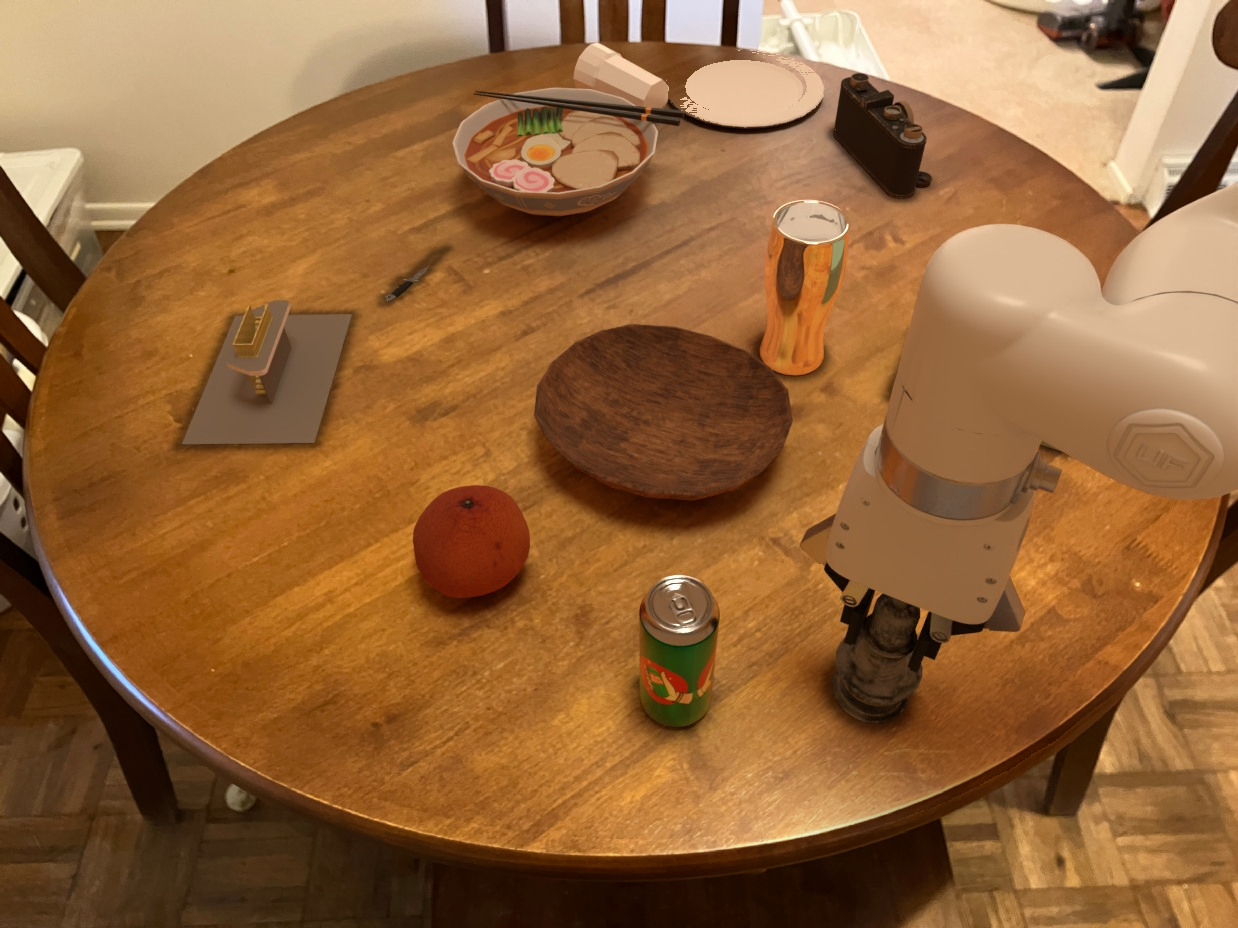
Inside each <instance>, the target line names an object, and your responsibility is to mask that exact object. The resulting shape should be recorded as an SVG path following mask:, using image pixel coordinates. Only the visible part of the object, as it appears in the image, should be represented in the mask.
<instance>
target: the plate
mask: <svg viewBox="0 0 1238 928" xmlns="http://www.w3.org/2000/svg"><path fill="white" fill-rule="evenodd" d="M737 50H738V51H740V50H741V49H737ZM749 50H750V51H757V52H762V53H770V54H776V55H781V54H780V53H775V52H770V51H766V50H754V49H753V50H752V49H749ZM752 53H756V52H752ZM757 54H759V53H757ZM763 55H765V54H763ZM768 56H775V55H768ZM763 58H764V57H763ZM778 58H779V59H776V60H778V61H781V62H780V63H782V64H789V65H788V66H791V67H792V66H793V67H792V68H796V69H795V70H797V71H799V72H800V74H802V75H801V76H803V77H804V79H805V81H806V85H807V88H806V89H807V90H806V91H807V92H805V95H803V97H802V94H803V86H802V83H801V81H800V80H799V79H798V78H797V77H796V76H795V74H793V73H791V72H790V71H788V70H786V69H785V68H782V67H779V66H776V65H774V64H770V63H765V62H760V61H751V60H730V61H723V62H718V63H713V64H710V65H707V66H704V67H702V68H700V69H699V70H697V71H695V72H694V73H693V74H692V75H691V76H690V77H689V78H688V79H687V82H686V85H685V88H686V93H687V95H688V96H689V97H690V99H691V100H692V101H694V102H695V103H696V104H695V103H690V102H692V101H691V100H690V99H687V97H684V98H682V99H680V100H688V101H686V102H684V103H683V104H684V105H680V106H684V107H681V108H687V105H688V104H693V105H689V106H690V107H688V108H687V109H686V110H685V111H686V112H688V113H689V112H697V113H690V114H692V115H695V117H699V118H700V119H702V120H703V119H704V120H705V121H710V122H712V123H709V122H705V121H702V120H699V119H697V118H695V117H692V116H690V115H687V114H685V113H684V115H686V116H687V117H690V118H692V119H694V120H697V121H699V122H702V123H704V124H709V125H714V126H718V127H721V128H732V129H743V130H747V129H768V128H773V127H777V126H783V125H787V124H789V123H793V122H795V121H798V120H800V119H803V118H804V117H806V116H807V115H809V114H810V113H812V112H813V111H815V110H816V109H817V108H818V107H819V105H820V104H821V103H822V101H823V100H822V98H823V99H824V96H825V90H824V89H825V88H826V87H825V85H824V82H823V79H822V77H821V76H820V75H818V73H816V72H815V70H813V68H811V67H810V66H808V65H807V64H805V63H803V62H801V61H800V63H799V62H795V61H790V60H782V59H780V58H784V57H782V56H781V57H778ZM784 59H788V58H784ZM791 60H796V59H795V58H792V59H791ZM788 62H791V63H788ZM795 63H797V64H795ZM799 64H803V65H799ZM796 66H799V67H796ZM800 70H801V71H800ZM809 70H810V71H809ZM801 72H803V73H801ZM805 72H807V73H805ZM808 72H813V73H808ZM814 72H815V73H814ZM803 74H804V75H803ZM806 74H808V75H806ZM824 87H825V88H824ZM823 93H824V94H823ZM801 97H802V98H801ZM800 98H801V99H800ZM799 99H800V101H799V102H798V100H799ZM668 100H669V98H668ZM821 100H822V101H821ZM669 102H670V103H671V104H672V102H671V101H670V100H669ZM819 102H820V104H819ZM697 104H698V105H697ZM818 104H819V105H818ZM792 105H793V106H792ZM817 105H818V106H817ZM672 106H673V107H674V108H676V110H680V109H678V108H677V107H675V106H674V105H673V104H672ZM816 106H817V108H816ZM703 107H704V108H703ZM789 107H790V108H789ZM693 108H697V109H693ZM705 108H706V109H705ZM812 108H816V109H814V110H813V111H811V112H810V113H808V114H807V115H805V114H806V113H807V112H809V110H812ZM708 109H709V110H708ZM692 110H697V111H692ZM803 115H805V116H804V117H802V116H803ZM799 117H801V118H799ZM797 118H798V119H797ZM794 119H796V120H794ZM792 120H793V121H792ZM789 121H790V122H789ZM786 122H788V123H786ZM714 123H718V124H721V125H718V124H714ZM781 123H783V124H781ZM777 124H778V125H777ZM722 125H726V126H722ZM771 125H773V126H771ZM733 126H735V127H733ZM744 127H747V128H744Z"/></svg>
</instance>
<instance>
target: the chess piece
mask: <svg viewBox="0 0 1238 928" xmlns="http://www.w3.org/2000/svg"><path fill="white" fill-rule="evenodd" d="M920 620H921V608H919V607H916V606H914V605H911V604H908V603H906V602H903V601H901V600H898V599H896V598H893V597H891V596H888V595H886V594H883V593H880V595H879V596H878V597H877V598H876V601H875V603H874V605H873V610H872V612H871V613H870V614H868V615H867V617H866V619H865V620H864V623H863V625H862V629H861V632H860V634H859V636H858V639H857V641H856V643H855V645H853V644H852V645H851V646H850V645H848V644H846V643H844V640H845V637H843V638H842V640H841V641H840V642H839V644H838V646H837V648H836V651H835V659H834V662H835V667H836V668H835V669H836V670H835V672H834V674H833V677H832V686H831V687H832V692H833V696H834V698H835V700H836V702H837V704H838V706H839V707H840V708H841V709H842V710H843V711H844V712H845V713H846V714H848V715H849V716H851V718H853V719H856V720H858V721H860V722H863V723H869V724H884V723H888V722H891V721H893V720H894V719H897V718H898V717H899V716H900V715H901V714H902V713H903V711H904V710H905V709H906V706H907V704H908V699H909V697H911V696H912V695H913V694H915V692H916V691H917V690H918V688H919V687H920V684H921V682H922V680H923V664H922V663H923V662H922V663H921V665H920V668H919V670H918V673H915V672H913V671H911V670H910V668H909V667H907V666H908V664H909V661H910V658H911V656H912V653H913V650H914V648H915V645H916V643H917V640H918V633H917V630H916V629H917V626H918V624H919V622H920Z"/></svg>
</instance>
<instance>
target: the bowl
mask: <svg viewBox="0 0 1238 928" xmlns="http://www.w3.org/2000/svg"><path fill="white" fill-rule="evenodd" d="M789 393H790V392H789V389H788V388H787V386H786V385H785V384H784V383H783V381H782V380H781V378H780V377H779V376H778V374H776V372H775V371H774V370H772V369H771V368H770V367H769V366H767V365H766V364H765V363H764V362H763V361H762V360H761V359H759V358H757V356H755V355H753V354H752V353H750V352H749V351H748V350H745V349H744V348H740V347H738V346H737V345H735V344H731V343H729V342H727V341H724V340H722V339H719V338H717V337H715V336H712V335H708V334H705V333H701V332H697V331H694V330H690V329H686V328H682V327H679V326H671V325H655V324H641V323H640V324H639V323H629V324H625V325H621V326H616V327H611V328H607V329H601V330H598V331H597V332H595V333H593V334H592V333H591V334H590V335H588V336H586V337H584V338H581V339H580V340H577V341H575V342H574V343H572V344H571V345H570V346H569V347H568V348H567V349H565V351H563V352H562V353H561V354H559V356H558V357H556V358H555V359H554V360H553V361H552V362H551V363H550V365H548V368H547V369H546V370H545V372H544V374H543V375H542V377H541V379H540V380H539V382H538V383H537V384H536V389H535V400H534V401H535V402H534V412H533V416H534V419H535V420H536V422H537V424H538V426H539V428H540V429H541V431H542V433H543V435H544V438H545V439H546V441H548V442H549V444H550V445H552V446H553V447H554V448H555V449H556V451H557V452H558V453H560V455H562V457H564V459H565V460H566V461H568V462H569V463H570V464H571V465H572V467H574V468H575V470H577V471H580V472H582V473H583V474H586V475H587V476H589V477H591V478H593V479H594V480H596V481H598V482H600V483H602V484H604V485H605V486H608V487H609V488H611V489H615V490H617V491H618V490H619V491H622V492H626V493H630V494H634V495H637V496H640V497H644V498H651V499H667V500H683V501H698V500H702V499H706V498H709V497H713V496H717V495H721V494H725V493H728V492H732V491H735V490H737V489H738V488H740V487H741V486H743V485H745V484H747V482H749V481H751V480H752V479H753V478H755V477H756V476H758V475H760V474H761V473H762V472H763V471H765V469H766V468H767V467H768V466H769V464H770V463H772V461H773V460H774V459H775V458H776V456H778V455H779V453H780V452H781V451H782V450H783V449H784V446H785V443H786V441H787V438H788V436H789V433H790V430H791V428H792V424H793V421H794V419H793V413H792V408H791V399H790V394H789Z"/></svg>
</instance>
